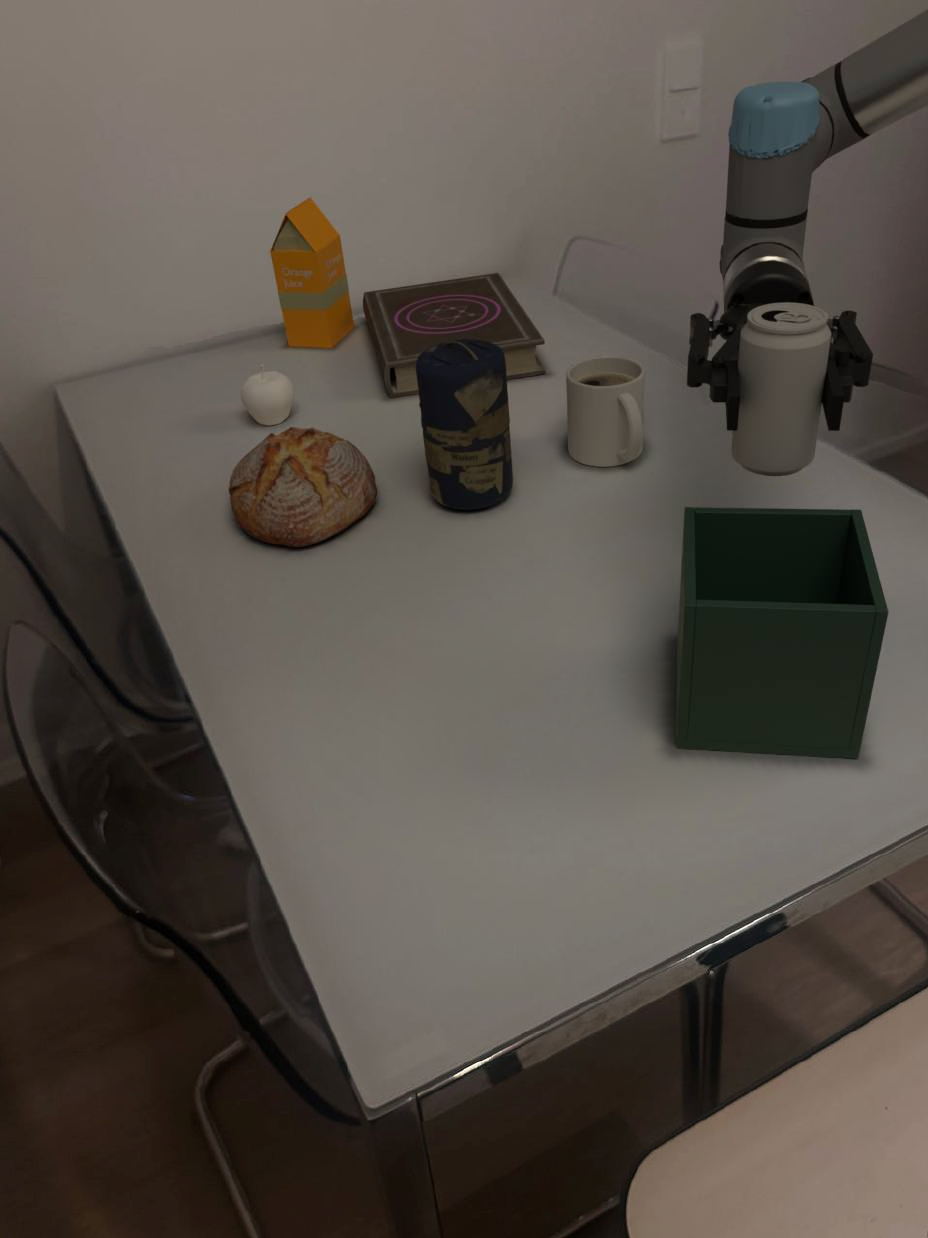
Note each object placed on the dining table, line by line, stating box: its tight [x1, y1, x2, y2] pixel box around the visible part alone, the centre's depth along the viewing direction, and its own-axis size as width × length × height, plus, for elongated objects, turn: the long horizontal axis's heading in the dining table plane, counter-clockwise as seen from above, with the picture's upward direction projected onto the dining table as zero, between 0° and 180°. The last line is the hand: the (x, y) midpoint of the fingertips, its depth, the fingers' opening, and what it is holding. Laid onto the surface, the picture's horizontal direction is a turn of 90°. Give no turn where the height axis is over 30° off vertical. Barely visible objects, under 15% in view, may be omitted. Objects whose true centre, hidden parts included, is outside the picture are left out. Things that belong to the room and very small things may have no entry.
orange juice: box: [269, 196, 355, 349], centre depth 153 cm, size 8×9×20 cm
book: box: [362, 272, 547, 399], centre depth 149 cm, size 30×22×5 cm
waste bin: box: [675, 506, 889, 760], centre depth 79 cm, size 14×14×14 cm
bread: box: [228, 426, 378, 548], centre depth 112 cm, size 16×20×10 cm
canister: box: [416, 339, 514, 511], centre depth 109 cm, size 10×10×18 cm
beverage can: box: [730, 303, 831, 477], centre depth 76 cm, size 6×6×12 cm
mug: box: [565, 355, 646, 468], centre depth 116 cm, size 11×10×10 cm
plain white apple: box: [240, 363, 295, 427], centre depth 133 cm, size 7×7×8 cm
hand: (784, 413), depth 72 cm, fingers closed on beverage can, 6 cm apart
